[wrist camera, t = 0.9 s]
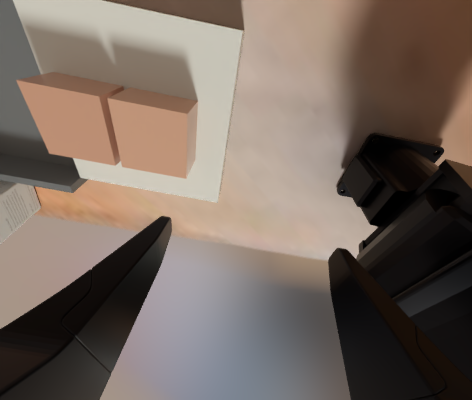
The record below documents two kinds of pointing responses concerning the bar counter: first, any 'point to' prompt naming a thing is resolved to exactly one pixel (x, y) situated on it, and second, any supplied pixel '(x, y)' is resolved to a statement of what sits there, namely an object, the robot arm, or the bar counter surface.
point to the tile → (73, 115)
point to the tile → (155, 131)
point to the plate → (144, 74)
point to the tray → (25, 116)
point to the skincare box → (16, 206)
